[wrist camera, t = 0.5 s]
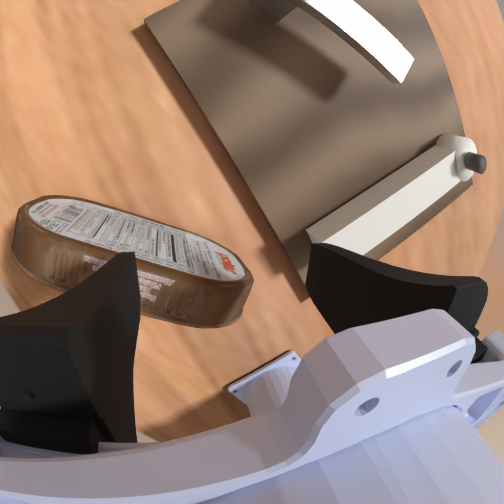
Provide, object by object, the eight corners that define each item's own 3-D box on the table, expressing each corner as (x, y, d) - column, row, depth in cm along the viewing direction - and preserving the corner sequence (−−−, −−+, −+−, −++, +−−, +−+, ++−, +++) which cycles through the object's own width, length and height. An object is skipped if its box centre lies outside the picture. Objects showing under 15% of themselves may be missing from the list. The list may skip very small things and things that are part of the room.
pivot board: (466, 181, 26) (504, 197, 21) (310, 297, 26) (340, 336, 21) (382, -44, 13) (423, -62, 9) (145, 23, 14) (136, -10, 9)
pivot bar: (453, 127, 21) (473, 131, 19) (461, 164, 23) (479, 170, 21) (303, 224, 21) (318, 237, 19) (322, 263, 23) (337, 279, 21)
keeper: (377, 63, 18) (414, 58, 14) (365, 84, 18) (401, 83, 15) (267, -19, 13) (288, -44, 10) (249, 2, 14) (268, -22, 10)
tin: (41, 219, 17) (-14, 275, 10) (48, 177, 16) (-13, 216, 9) (226, 274, 23) (254, 348, 16) (242, 239, 22) (279, 303, 15)
